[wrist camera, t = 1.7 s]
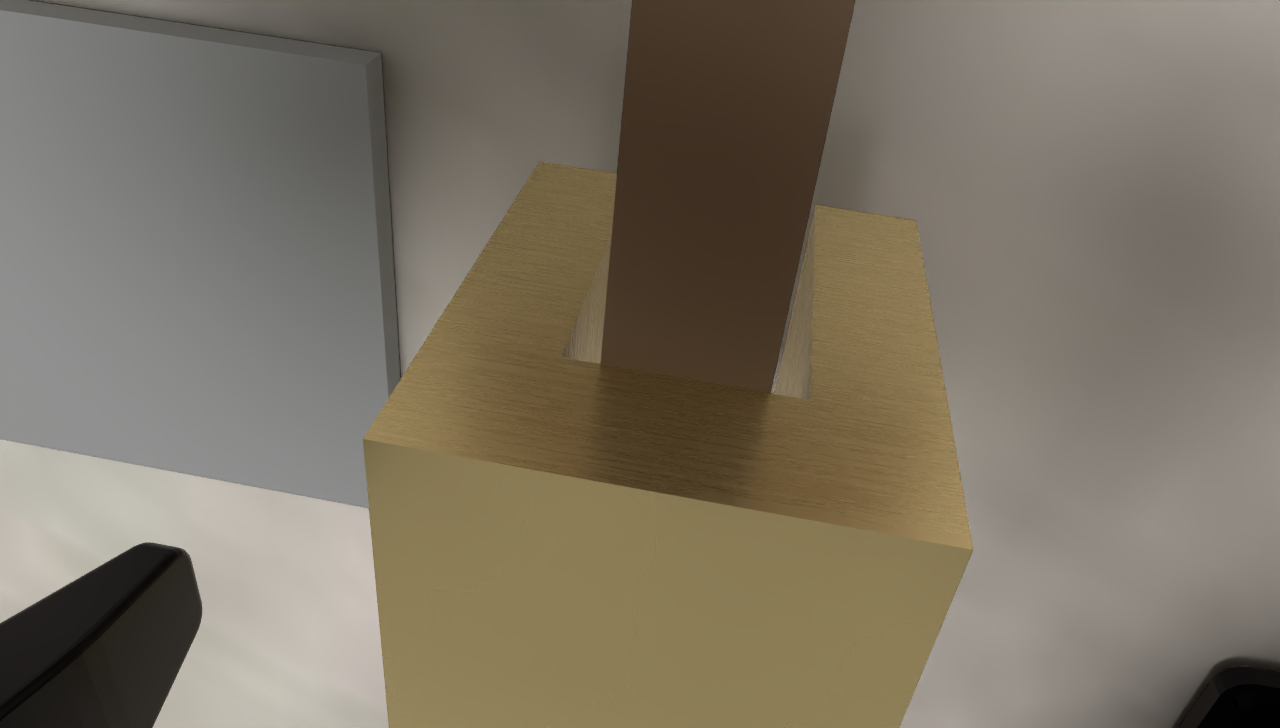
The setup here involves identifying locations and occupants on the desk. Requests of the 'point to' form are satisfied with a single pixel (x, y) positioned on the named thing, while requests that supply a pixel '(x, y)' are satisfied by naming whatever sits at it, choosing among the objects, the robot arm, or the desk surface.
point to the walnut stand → (717, 181)
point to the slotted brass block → (664, 497)
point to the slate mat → (194, 248)
